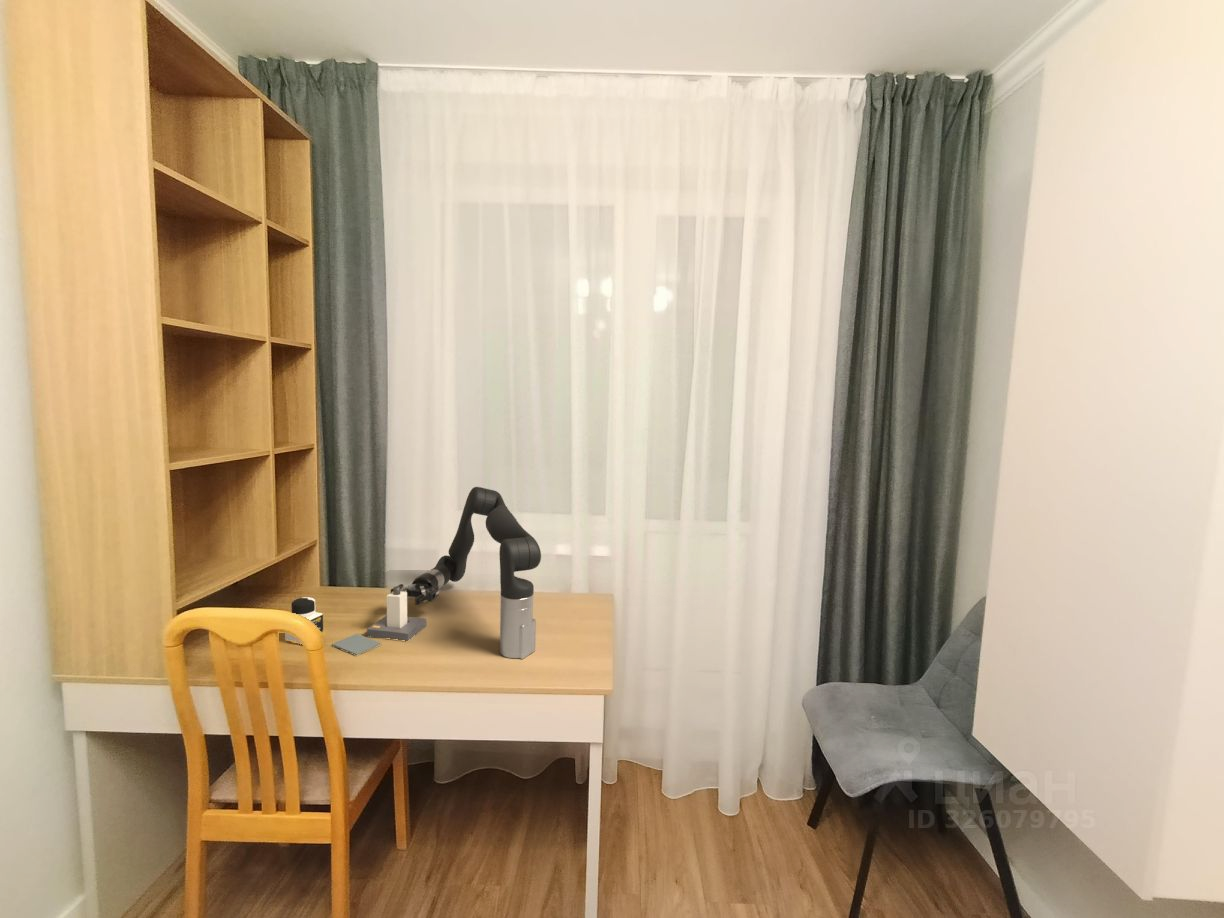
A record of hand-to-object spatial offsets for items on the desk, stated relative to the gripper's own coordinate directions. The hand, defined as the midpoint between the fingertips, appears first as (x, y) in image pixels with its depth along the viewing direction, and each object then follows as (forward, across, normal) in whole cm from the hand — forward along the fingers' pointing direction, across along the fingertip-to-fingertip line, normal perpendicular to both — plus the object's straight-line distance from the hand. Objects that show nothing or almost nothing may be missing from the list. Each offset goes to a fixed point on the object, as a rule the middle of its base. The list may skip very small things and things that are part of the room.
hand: (403, 601), depth 171 cm
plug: (+3, 0, +8) cm, 9 cm away
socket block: (+3, 0, +8) cm, 9 cm away
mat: (+14, -6, +8) cm, 18 cm away
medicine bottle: (+14, -23, +9) cm, 28 cm away
